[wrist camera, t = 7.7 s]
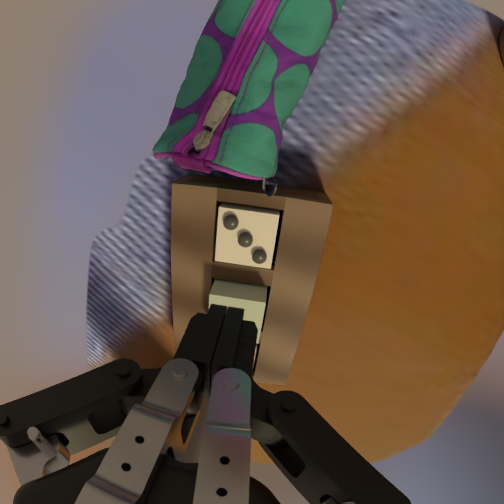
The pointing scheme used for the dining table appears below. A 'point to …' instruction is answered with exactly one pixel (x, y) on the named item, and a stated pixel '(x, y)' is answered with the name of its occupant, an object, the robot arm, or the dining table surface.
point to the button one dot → (241, 299)
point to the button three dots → (246, 234)
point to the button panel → (278, 277)
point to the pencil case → (246, 85)
